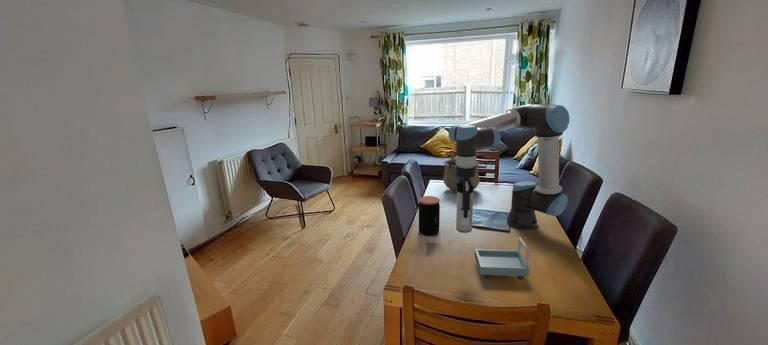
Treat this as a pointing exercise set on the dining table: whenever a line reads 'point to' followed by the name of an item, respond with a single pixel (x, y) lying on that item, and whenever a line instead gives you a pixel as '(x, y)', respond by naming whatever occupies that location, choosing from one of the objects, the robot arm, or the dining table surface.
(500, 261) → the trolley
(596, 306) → the dining table surface
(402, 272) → the dining table surface
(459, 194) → the travel mug
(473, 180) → the pot
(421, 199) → the coffee jar
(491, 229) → the dining table surface
